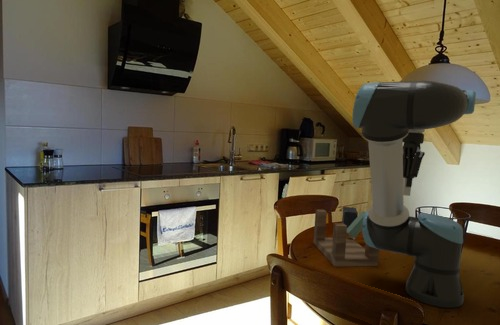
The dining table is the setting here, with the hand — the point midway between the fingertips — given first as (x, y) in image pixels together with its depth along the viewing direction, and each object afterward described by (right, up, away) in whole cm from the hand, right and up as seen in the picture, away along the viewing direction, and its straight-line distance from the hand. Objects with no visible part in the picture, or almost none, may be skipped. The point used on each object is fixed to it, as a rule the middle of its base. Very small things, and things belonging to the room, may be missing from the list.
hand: (405, 195), depth 132 cm
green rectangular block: (-17, -18, +14) cm, 29 cm away
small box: (-11, -21, +35) cm, 42 cm away
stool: (-22, -23, +4) cm, 32 cm away
